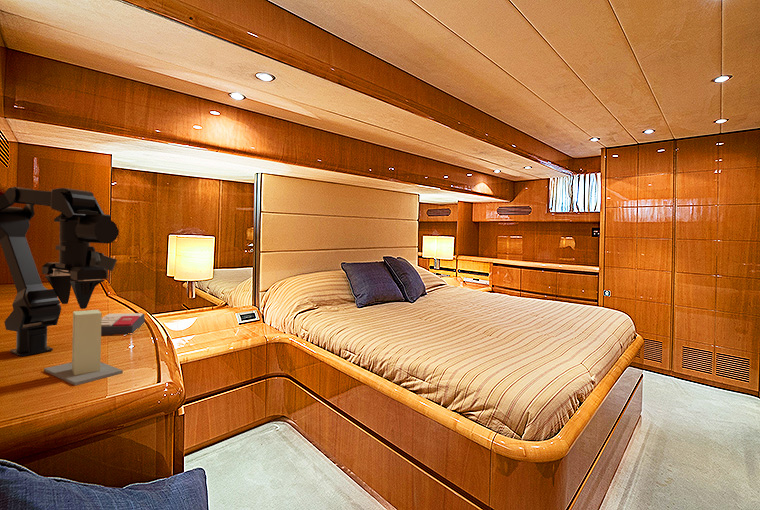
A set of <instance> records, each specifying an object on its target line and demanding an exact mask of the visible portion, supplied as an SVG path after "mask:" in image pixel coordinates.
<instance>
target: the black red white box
mask: <svg viewBox="0 0 760 510" xmlns="http://www.w3.org/2000/svg"><path fill="white" fill-rule="evenodd" d="M143 323H144V324H145V313H142V312H137V313H136V312H135V313H134V312H133V313H132V312H131V313H128V312H127V313H107V314H106V315H103V316H102V319H101V336H115V335H114V334H128V333H133V332H134V331H135V330H136V329H137V328H139V329H140V328H141V327H142V326H143V325H144V324H143ZM142 324H143V325H142ZM141 325H142V326H141ZM134 333H135V332H134ZM134 333H133V334H134ZM128 335H129V334H128Z"/></svg>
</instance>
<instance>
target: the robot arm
mask: <svg viewBox="0 0 760 510" xmlns="http://www.w3.org/2000/svg"><path fill="white" fill-rule="evenodd" d="M14 204H21V205H24V206H23V207H19V206H18V207H17V206H13V205H14ZM35 205H37V206H45V207H47V206H48V207H50V208H51V210H54V211H57V212H58V213H60V214H59V215H57V216H55V218H54V219H53V222H55V223H59V237H58V238H59V239H58V240H59V241H58V242H59V245H57V244H56V245H55V251H56V250H58V261H57V262H46V263H44V265H42V266H41V274H42V275H44V278H45V279H46V280H47V281H48V283H49V284H50V286H51V287H52V288H51V289H50V288H49V289H48V288H47V287H45V286H44V284H43V282H42V279H41V277H40V274H39V271H38V268H37V265H36V262H35V259H34V256H33V254H32V252H31V248H30V245H29V243H28V239H27V236H26V235H27V233H28V231H29V229H30V227H31V225H30V221H31V220H32V218H33V217H34V216H35V209H34V206H35ZM111 217H112V216H111V214H105V212H104V211H103V210H102V207H101V206H100V204H99V201H97V199H96V197H95V196H94V192H92V191H89V190H82V189H81V190H80V189H74V188H67V187H58V188H52V190H39V189H38V190H37V189H32V188H25V187H19V186H12V187H8V188H7V189H6V191H5V192H4V193H3V194H1V195H0V246H1V249H2V252H3V254H4V259H5V260H6V263H7V266H8V269H9V272H10V275H11V277H12V281H13V284H14V287H15V290H16V295H15V298H14V300H13V302H12V305H11V306H12V311H11V312H10V314H9V315H8V316H7V317H6V319H5V320H4V322H3V323H4V326H5V330H6V331H10V332H16V343H15V344H16V345H15V348H12V349H10V350H9V352H10V353H13V354H14V355H16V356H18V355H19V357H24V356H29V355H30V354H31V355H35V354H40V353H46V352H51V351H54V348H53V347H50V346H48V327H50V326H57V325H58V322H59V319H60V315H61V312H62V306H61V304H62V305H68V303H69V301H70V295H71V289H72V290H73V294H74V296H75V299H76V301H77V303H78V306H79V309H81V310H85V309H87V307H88V305H89V303H90V300H91V298H92V295H93V293H94V291H95V288H96V287H97V286H98V285H99V284H101V283H104V282H105V280H107V279H109V271H110V272H113V271H114V268H115V266H116V263H117V262H118V259H116V258H113V257H110V256H107V255H104V253H103V252H99V251H96V248H95V247H94V246H93V245H92V246H91V244H93V243H94V244H112V243H113V242H115V241H116V240H117V238H118V236H119V233H120V231H119V229H118V226H117V224H116V223H115V222H114V221H113V220H112V219H111Z"/></svg>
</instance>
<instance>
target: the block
mask: <svg viewBox="0 0 760 510" xmlns="http://www.w3.org/2000/svg"><path fill="white" fill-rule="evenodd" d="M102 318H103V316H102V312H101V311H100V309H88V310H75V311H72V341H71V342H72V343H71V345H72V347H71V350H72V351H71V353H72V354H71V355H72V356H71V362H72V371H73V373H74V375H79V374H85V373H91V372H97V371H100V362H101V356H102V355H101V354H102V352H101V351H102V349H101V348H102V335H101V319H102Z"/></svg>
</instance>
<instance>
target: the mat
mask: <svg viewBox="0 0 760 510" xmlns="http://www.w3.org/2000/svg"><path fill="white" fill-rule="evenodd" d="M43 372H46V373H47V374H50V375H52V376H54V377H56V378H58V379H60V380H62V381H64V382H67V383H69V384H71V385H72V386H73V385H74V386H79V385H82V384H86V383H91V382H93V381H97V380H101V379H105V378H109V377H112V376H116V375H120V374H123V372H124V371H123V369H120V368H117V367H115V366H113V365H110V364H108V363H105V362H102V361H100V371H97V372H91V373H85V374H79V375H74V373H73V371H72V361H71V362H66V363H61V364H59V365H53V366H49V367H48V366H47V367H43Z"/></svg>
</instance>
